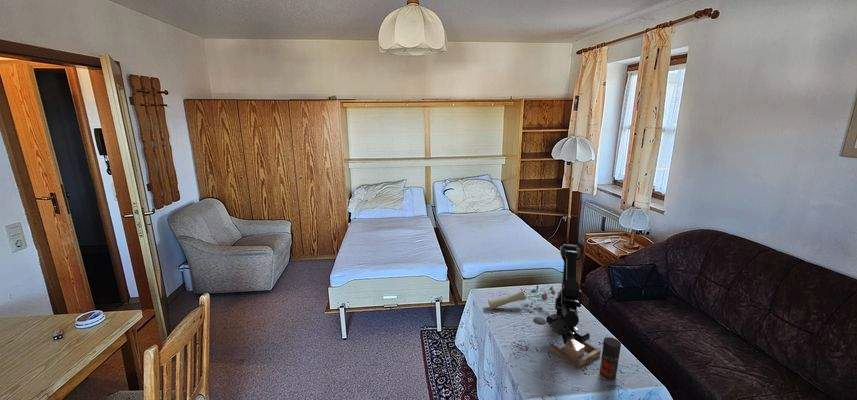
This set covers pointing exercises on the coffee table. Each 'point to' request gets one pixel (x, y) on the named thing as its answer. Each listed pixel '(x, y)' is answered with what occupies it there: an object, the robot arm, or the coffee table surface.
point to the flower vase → (517, 298)
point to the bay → (582, 361)
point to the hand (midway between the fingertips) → (565, 344)
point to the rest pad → (539, 320)
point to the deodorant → (610, 358)
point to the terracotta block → (574, 348)
